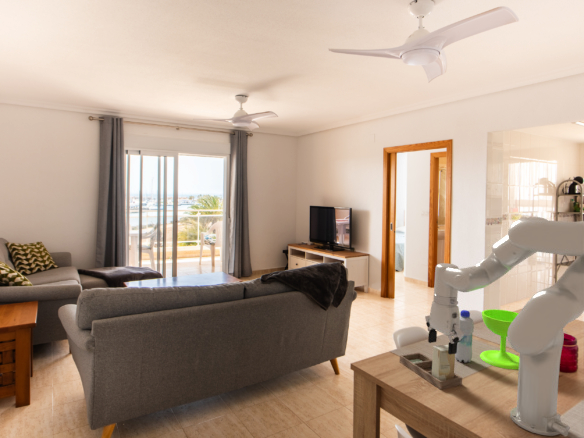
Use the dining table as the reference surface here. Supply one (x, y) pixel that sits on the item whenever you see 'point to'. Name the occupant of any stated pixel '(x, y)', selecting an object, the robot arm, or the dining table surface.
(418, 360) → the mat
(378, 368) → the dining table surface
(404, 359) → the notch rack
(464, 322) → the bottle
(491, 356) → the wineglass
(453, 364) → the skincare box
